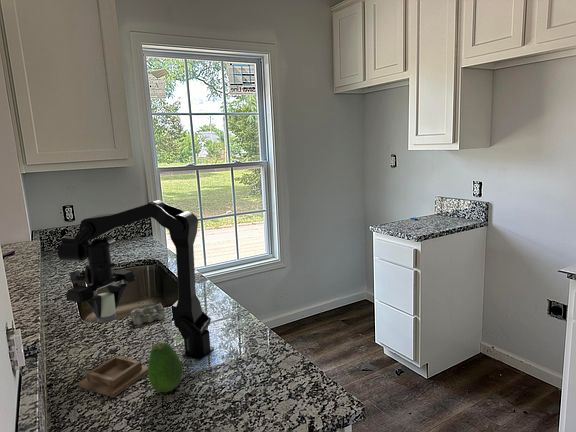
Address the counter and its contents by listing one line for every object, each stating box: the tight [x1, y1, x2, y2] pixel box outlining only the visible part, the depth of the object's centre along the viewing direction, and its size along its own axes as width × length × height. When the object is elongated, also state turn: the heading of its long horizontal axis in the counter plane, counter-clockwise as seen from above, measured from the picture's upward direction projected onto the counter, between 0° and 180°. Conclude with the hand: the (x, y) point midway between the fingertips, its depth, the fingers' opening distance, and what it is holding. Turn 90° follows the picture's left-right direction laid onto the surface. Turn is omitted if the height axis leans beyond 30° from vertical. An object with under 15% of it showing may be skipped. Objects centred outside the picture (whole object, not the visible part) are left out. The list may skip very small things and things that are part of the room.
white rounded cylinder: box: [96, 292, 117, 324], centre depth 112 cm, size 5×5×7 cm
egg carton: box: [130, 302, 166, 326], centre depth 134 cm, size 11×8×4 cm
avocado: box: [147, 342, 184, 393], centre depth 93 cm, size 8×8×12 cm
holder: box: [77, 355, 149, 398], centre depth 99 cm, size 12×12×3 cm
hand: (106, 313), depth 112 cm, fingers closed on white rounded cylinder, 5 cm apart
